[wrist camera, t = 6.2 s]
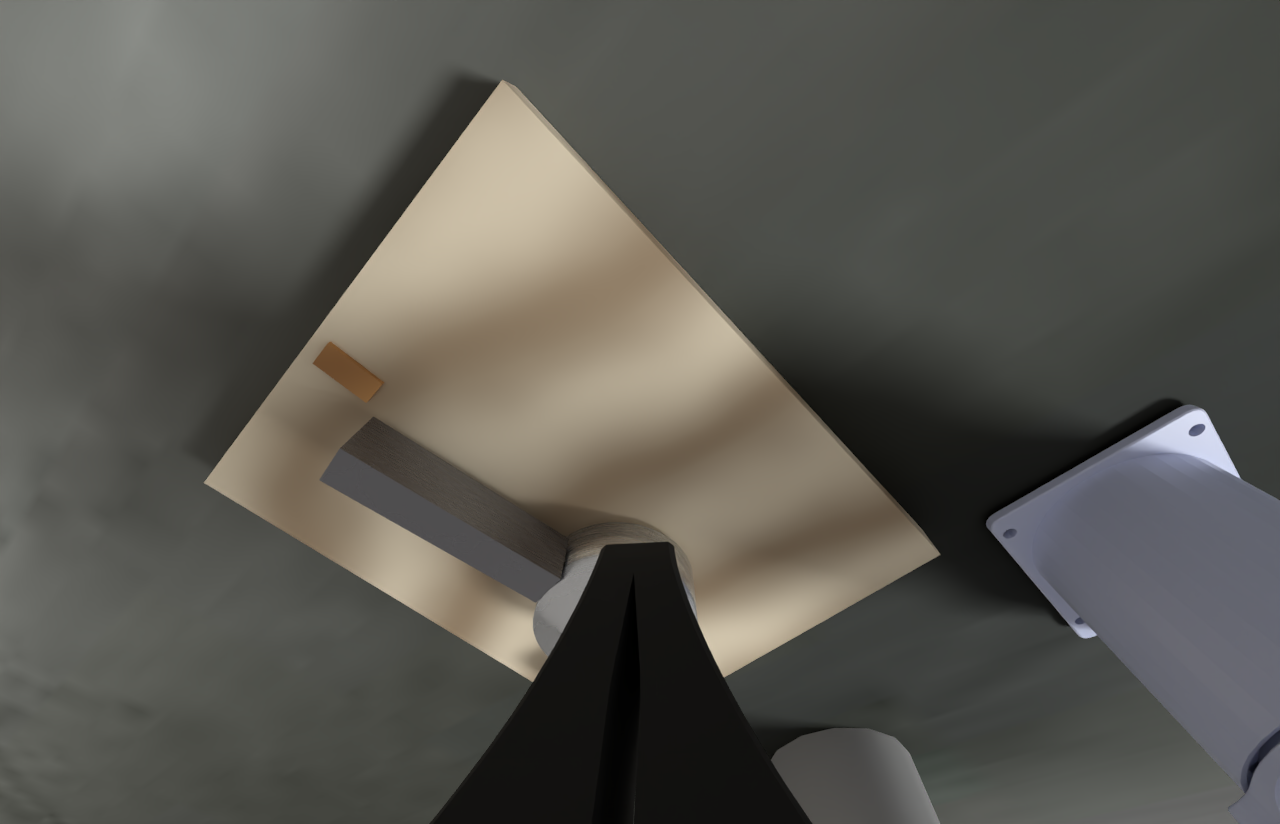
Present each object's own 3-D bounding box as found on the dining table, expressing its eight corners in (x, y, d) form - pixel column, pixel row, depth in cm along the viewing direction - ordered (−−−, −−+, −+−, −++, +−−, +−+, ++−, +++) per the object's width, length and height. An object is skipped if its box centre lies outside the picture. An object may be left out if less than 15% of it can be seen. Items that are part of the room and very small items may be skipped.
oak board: (921, 529, 21) (976, 603, 17) (622, 706, 27) (618, 788, 23) (516, 86, 14) (472, 63, 10) (233, 460, 20) (146, 525, 16)
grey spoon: (724, 574, 20) (733, 625, 18) (629, 649, 22) (626, 702, 20) (411, 363, 16) (374, 395, 14) (332, 480, 18) (290, 523, 16)
